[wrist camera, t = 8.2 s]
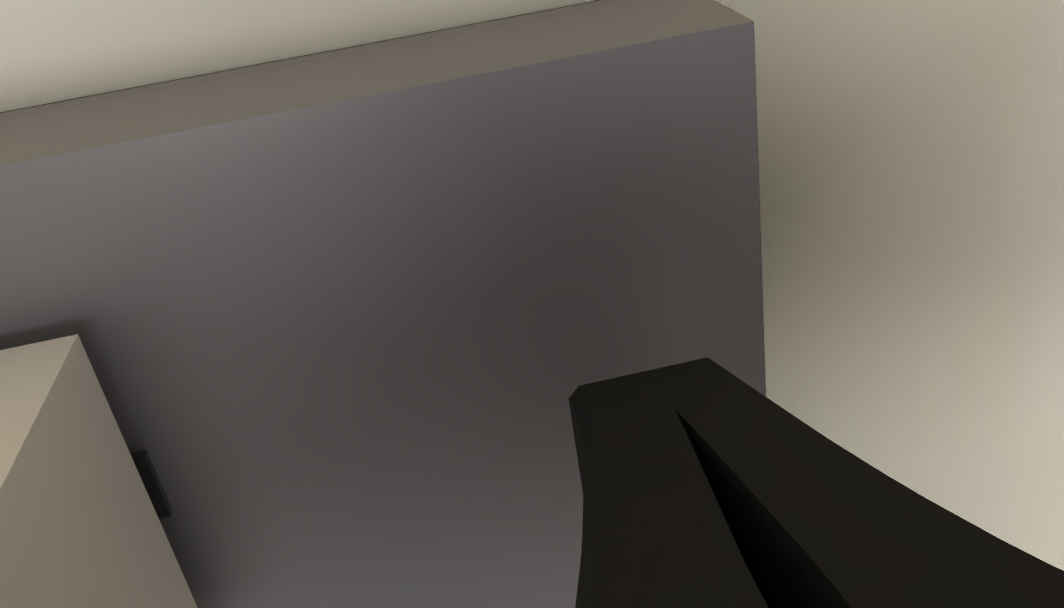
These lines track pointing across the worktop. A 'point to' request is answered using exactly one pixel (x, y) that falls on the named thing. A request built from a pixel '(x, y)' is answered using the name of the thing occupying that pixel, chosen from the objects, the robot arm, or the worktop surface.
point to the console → (393, 287)
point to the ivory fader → (74, 493)
